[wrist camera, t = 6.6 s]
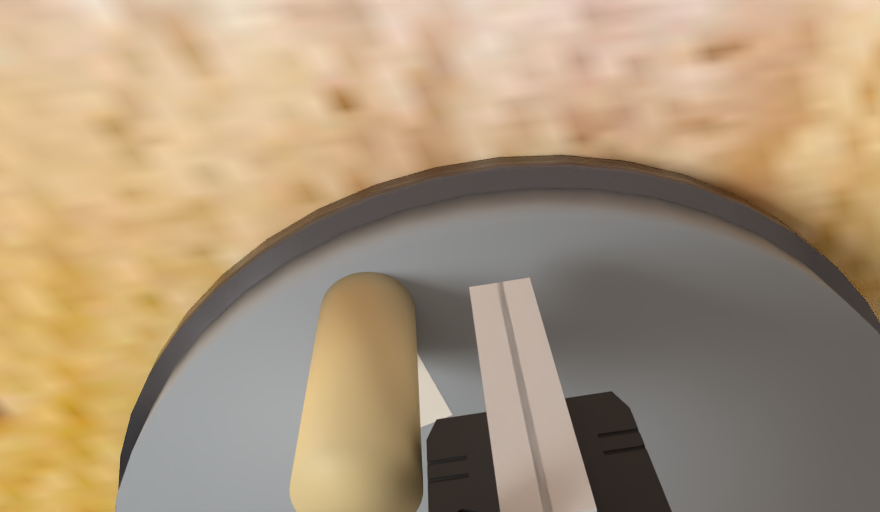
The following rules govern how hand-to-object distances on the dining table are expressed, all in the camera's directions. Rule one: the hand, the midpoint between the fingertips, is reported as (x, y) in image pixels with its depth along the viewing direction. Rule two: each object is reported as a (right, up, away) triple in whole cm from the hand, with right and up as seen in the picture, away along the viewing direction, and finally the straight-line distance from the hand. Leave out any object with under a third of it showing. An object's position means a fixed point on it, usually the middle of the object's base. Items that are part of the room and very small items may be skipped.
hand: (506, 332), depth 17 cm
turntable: (+1, -8, +9) cm, 12 cm away
